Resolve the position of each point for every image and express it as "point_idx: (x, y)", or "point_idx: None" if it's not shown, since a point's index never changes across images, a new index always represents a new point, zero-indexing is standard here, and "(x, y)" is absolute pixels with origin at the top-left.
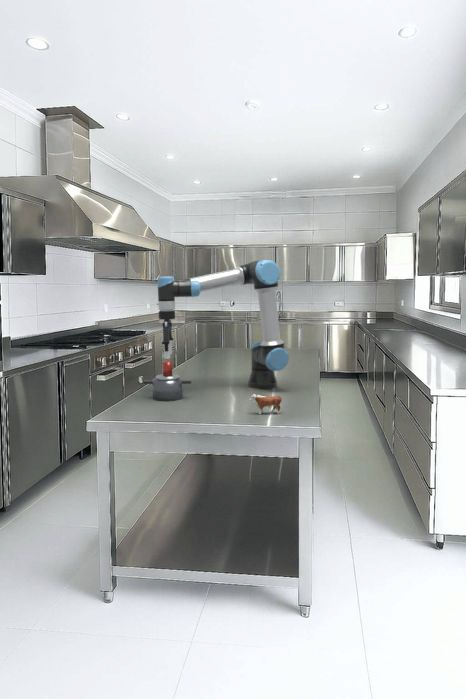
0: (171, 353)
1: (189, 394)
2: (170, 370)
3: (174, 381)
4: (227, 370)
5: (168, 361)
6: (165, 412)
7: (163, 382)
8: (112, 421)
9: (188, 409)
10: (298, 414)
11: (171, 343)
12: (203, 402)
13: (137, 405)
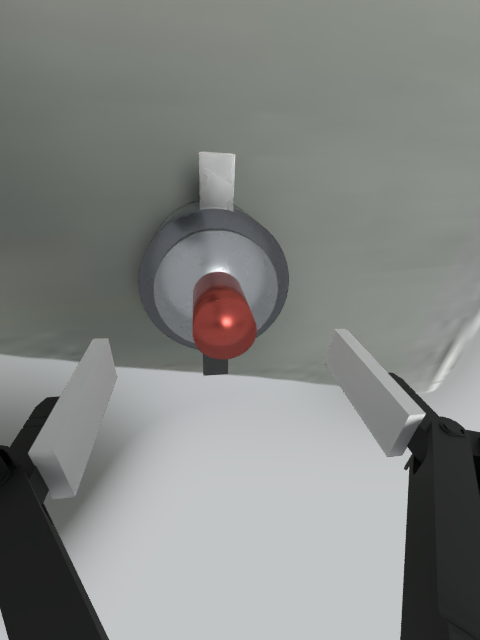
0: (107, 346)
1: (130, 166)
2: (242, 292)
3: (282, 252)
4: None
5: (200, 330)
6: (419, 253)
7: (284, 299)
8: (450, 360)
9: (409, 174)
10: None
11: (70, 420)
12: (310, 96)
13: (310, 339)
